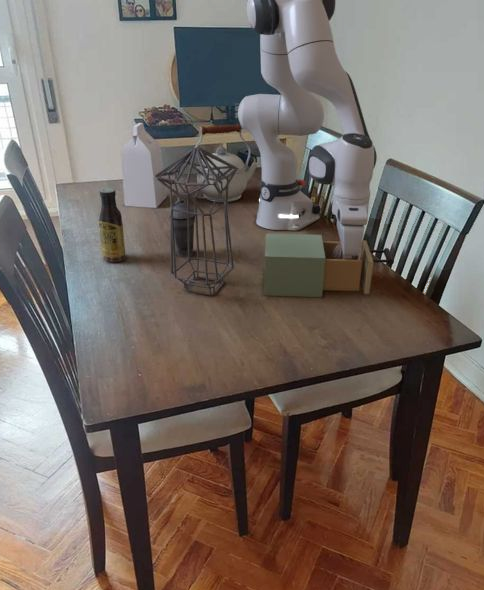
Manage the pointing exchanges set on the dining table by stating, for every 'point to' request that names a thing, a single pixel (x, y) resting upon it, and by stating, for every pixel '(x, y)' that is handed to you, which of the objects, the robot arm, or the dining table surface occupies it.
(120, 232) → the sauce bottle
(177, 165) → the geometric lantern
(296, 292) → the cabinet
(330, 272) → the drawer
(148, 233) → the dining table surface
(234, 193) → the kettle
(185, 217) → the beverage cup
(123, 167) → the milk
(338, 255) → the vase
